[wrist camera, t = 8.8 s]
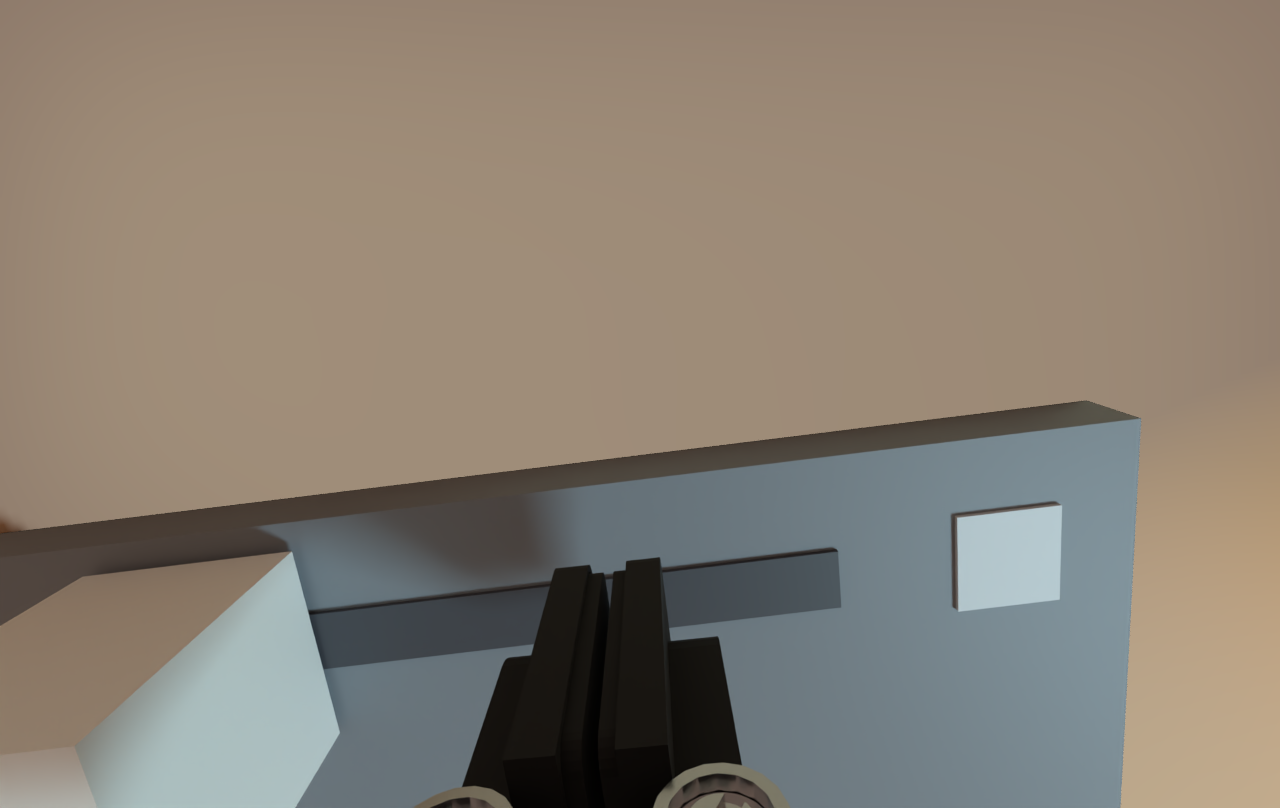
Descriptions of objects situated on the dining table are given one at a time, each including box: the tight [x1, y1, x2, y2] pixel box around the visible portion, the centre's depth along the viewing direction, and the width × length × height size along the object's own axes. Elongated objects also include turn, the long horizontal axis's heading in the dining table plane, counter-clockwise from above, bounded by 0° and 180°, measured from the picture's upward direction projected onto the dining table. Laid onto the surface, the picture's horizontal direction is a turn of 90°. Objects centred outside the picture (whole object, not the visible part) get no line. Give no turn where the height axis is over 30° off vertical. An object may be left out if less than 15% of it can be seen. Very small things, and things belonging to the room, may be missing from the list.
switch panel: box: [0, 401, 1141, 808], centre depth 15 cm, size 24×14×2 cm, turn 97°
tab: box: [0, 551, 340, 808], centre depth 10 cm, size 4×4×5 cm
